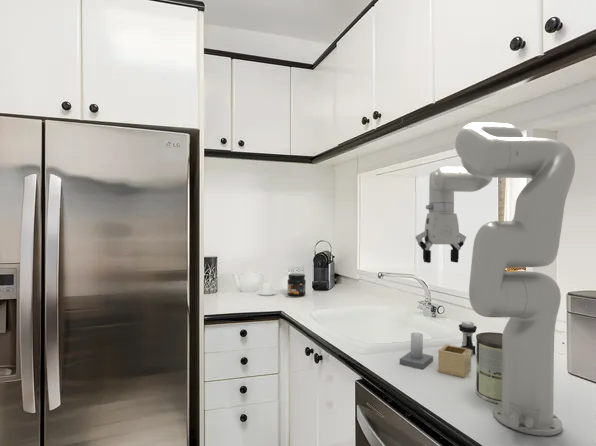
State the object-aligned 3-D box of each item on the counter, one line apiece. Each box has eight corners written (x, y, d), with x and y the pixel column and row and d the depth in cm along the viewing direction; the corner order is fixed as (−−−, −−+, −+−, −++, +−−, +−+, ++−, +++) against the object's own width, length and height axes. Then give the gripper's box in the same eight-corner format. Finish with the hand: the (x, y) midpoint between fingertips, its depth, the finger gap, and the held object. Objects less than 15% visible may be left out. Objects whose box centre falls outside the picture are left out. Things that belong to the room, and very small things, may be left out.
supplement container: (283, 295, 223) (284, 274, 223) (293, 293, 232) (293, 272, 232) (300, 297, 218) (300, 276, 218) (308, 294, 227) (309, 274, 227)
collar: (464, 377, 106) (464, 355, 106) (438, 371, 110) (438, 350, 110) (470, 370, 112) (470, 349, 112) (445, 364, 116) (445, 344, 116)
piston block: (422, 369, 112) (423, 339, 112) (399, 364, 116) (399, 335, 116) (433, 360, 119) (433, 332, 119) (410, 355, 123) (410, 328, 123)
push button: (466, 358, 121) (467, 326, 121) (452, 353, 126) (452, 322, 126) (480, 355, 125) (480, 323, 125) (465, 350, 129) (465, 320, 129)
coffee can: (468, 386, 100) (468, 331, 100) (507, 386, 101) (508, 332, 101) (488, 405, 90) (489, 344, 90) (532, 405, 90) (533, 344, 90)
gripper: (422, 208, 121) (422, 263, 121) (472, 209, 124) (472, 263, 124) (411, 208, 128) (410, 261, 128) (458, 209, 131) (457, 260, 132)
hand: (440, 262), depth 126 cm, fingers open, 9 cm apart
